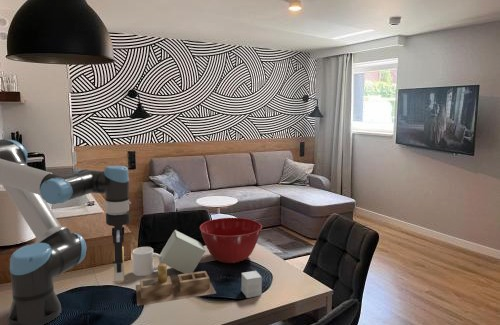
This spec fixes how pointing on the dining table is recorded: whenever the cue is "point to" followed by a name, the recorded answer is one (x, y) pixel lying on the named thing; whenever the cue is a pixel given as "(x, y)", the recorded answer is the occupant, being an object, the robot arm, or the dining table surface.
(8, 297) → the dining table surface
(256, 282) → the skincare box
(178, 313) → the dining table surface
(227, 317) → the dining table surface
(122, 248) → the pin
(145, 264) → the mug
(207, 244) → the mixing bowl
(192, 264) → the tray
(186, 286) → the brown wooden compartment tray
